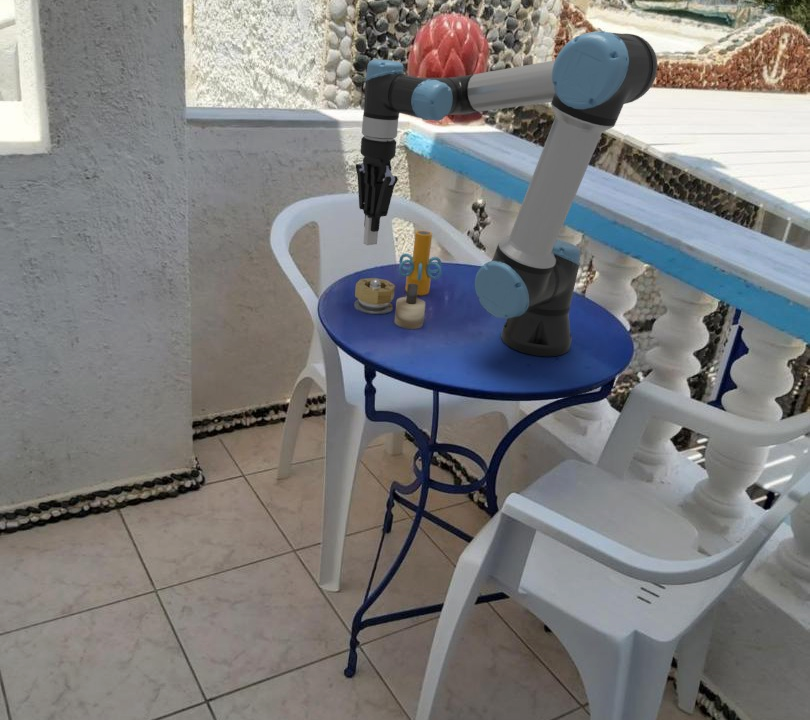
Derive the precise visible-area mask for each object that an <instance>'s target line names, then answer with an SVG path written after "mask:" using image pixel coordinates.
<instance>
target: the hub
mask: <svg viewBox="0 0 810 720" xmlns="http://www.w3.org/2000/svg"><path fill="white" fill-rule="evenodd" d="M378 279H379V278H377V279H373V280H372V281H371V282H370V287H369V288H375V289H380V288H381V282H380V281H379V280H378ZM353 307H354V309H355V310H356V311H358V312H361V313H363V314H368V315H377V316H378V315H380V316H381V315H387V314H389V313H391V312H393V310H394V306H393V304H392V303H391V302H390V303H385V304H371V303H366V302H362V301H360V300H359V299H358V298H357V300H355V301H354V303H353Z"/></svg>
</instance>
